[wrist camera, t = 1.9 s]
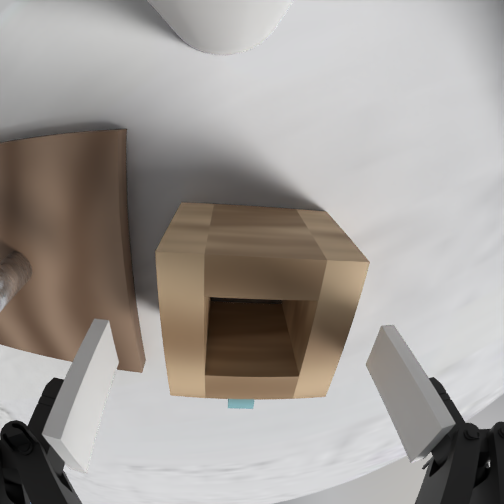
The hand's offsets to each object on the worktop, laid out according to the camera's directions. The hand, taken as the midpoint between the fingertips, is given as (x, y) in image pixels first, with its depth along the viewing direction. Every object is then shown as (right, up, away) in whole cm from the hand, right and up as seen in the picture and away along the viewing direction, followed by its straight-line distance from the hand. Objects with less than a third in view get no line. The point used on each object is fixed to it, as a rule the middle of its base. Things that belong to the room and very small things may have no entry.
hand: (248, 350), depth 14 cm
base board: (-17, +4, +5) cm, 18 cm away
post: (-17, +3, +4) cm, 18 cm away
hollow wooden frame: (0, 0, +8) cm, 8 cm away
